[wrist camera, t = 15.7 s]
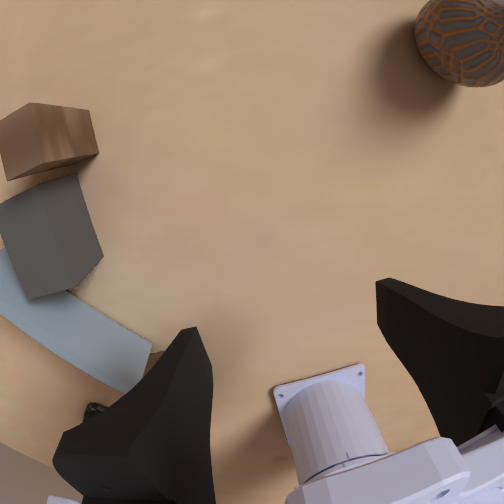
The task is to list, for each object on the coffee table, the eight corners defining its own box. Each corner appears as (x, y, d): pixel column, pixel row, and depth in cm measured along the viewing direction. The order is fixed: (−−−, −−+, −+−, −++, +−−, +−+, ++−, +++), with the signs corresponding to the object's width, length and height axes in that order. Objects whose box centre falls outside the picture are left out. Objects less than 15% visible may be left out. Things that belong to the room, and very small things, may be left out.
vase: (397, 72, 17) (483, 50, 9) (400, -6, 15) (471, -50, 7) (468, 102, 18) (554, 103, 10) (469, 29, 16) (545, 10, 8)
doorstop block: (104, 255, 20) (75, 287, 16) (60, 268, 20) (27, 299, 16) (76, 172, 18) (37, 184, 14) (33, 191, 18) (-8, 208, 14)
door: (152, 343, 23) (139, 388, 18) (141, 361, 23) (127, 405, 18) (6, 246, 19) (-32, 271, 14) (1, 268, 20) (-34, 295, 15)
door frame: (177, 366, 24) (166, 434, 17) (150, 370, 24) (133, 436, 17) (89, 110, 17) (29, 102, 10) (59, 123, 17) (-6, 124, 10)
